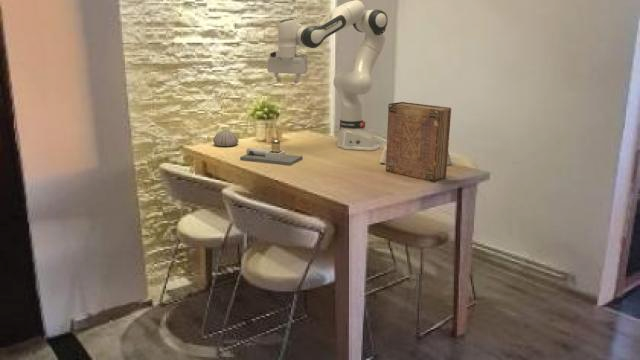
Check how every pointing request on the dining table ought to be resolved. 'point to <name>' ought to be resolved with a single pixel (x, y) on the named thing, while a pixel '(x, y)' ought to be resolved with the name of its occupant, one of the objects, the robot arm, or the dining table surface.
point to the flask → (449, 160)
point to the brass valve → (275, 146)
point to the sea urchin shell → (225, 138)
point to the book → (418, 140)
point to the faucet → (383, 155)
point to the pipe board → (270, 157)
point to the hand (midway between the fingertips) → (287, 82)
